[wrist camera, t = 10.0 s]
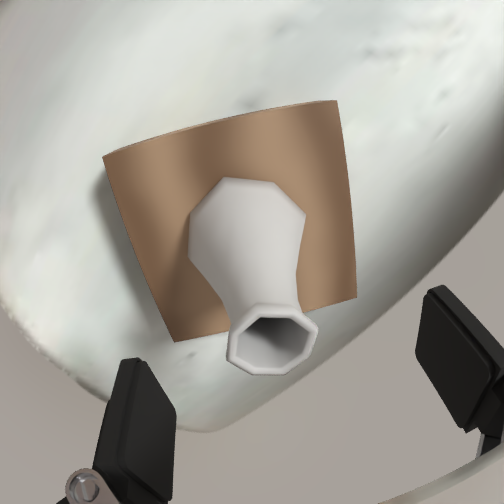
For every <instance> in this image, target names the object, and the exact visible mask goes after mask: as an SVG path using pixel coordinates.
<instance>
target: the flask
mask: <svg viewBox="0 0 504 504" xmlns="http://www.w3.org/2000/svg"><path fill="white" fill-rule="evenodd" d="M305 218H306V214H305V213H304V212H303V211H302V210H301V209H300V208H299V207H298V206H297V205H296V204H295V203H294V202H293V201H292V200H291V199H290V198H289V197H288V196H287V195H286V194H285V193H284V192H283V191H282V190H281V189H280V188H279V187H278V186H277V185H276V184H275V183H274V182H268V181H259V180H250V179H240V178H230V177H223V178H222V179H221V180H220V181H219V182H218V184H217V185H216V186H215V187H214V188H213V189H212V190H211V191H210V192H209V193H208V194H207V195H206V196H205V197H204V198H203V199H202V201H201V202H200V203H199V204H198V205H197V206H196V207H195V208H194V209H193V210H192V211H191V212H190V224H189V240H188V258H189V259H190V261H191V262H192V263H193V264H194V265H195V267H196V268H197V269H198V270H199V271H200V272H201V274H202V275H203V276H204V277H205V278H206V280H207V281H208V282H209V284H210V285H211V286H212V288H213V289H214V290H215V292H216V293H217V294H218V296H219V297H220V298H221V300H222V302H223V304H224V307H225V309H226V312H227V314H228V317H229V319H230V322H231V325H230V328H229V335H228V343H227V352H226V360H227V361H228V362H230V363H231V364H233V365H235V366H237V367H238V368H240V369H242V370H244V371H245V372H247V373H249V374H251V375H286V374H287V373H288V372H290V371H291V370H292V369H294V368H295V367H296V366H298V365H299V364H301V363H302V362H303V361H305V360H306V359H307V358H308V357H310V355H311V352H312V349H313V346H314V343H315V340H316V337H317V334H318V331H319V329H318V326H317V325H316V324H315V323H314V322H313V321H312V320H310V319H309V318H308V317H307V316H305V315H304V314H303V313H302V310H301V307H300V305H299V302H298V296H297V285H296V269H297V262H298V256H299V249H300V243H301V239H302V234H303V229H304V224H305Z"/></svg>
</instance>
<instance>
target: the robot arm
mask: <svg viewBox="0 0 504 504" xmlns="http://www.w3.org/2000/svg"><path fill="white" fill-rule="evenodd" d="M415 354H416V358H417V360H418V362H419V363H420V365H421V366H422V368H423V369H424V371H425V373H426V374H427V376H428V377H429V379H430V381H431V382H432V384H433V386H434V387H435V389H436V390H437V392H438V394H439V395H440V397H441V399H442V400H443V402H444V404H445V405H446V407H447V409H448V410H449V412H450V414H451V415H452V417H453V419H454V421H455V422H456V424H457V426H458V427H459V428H463V429H464V431H465V433H468V432H470V431H471V430H473V429H475V428H477V427H478V428H479V430H480V432H481V436H480V441H479V445H478V450H477V454H476V458H475V460H473V461H471V462H470V463H468V464H466V465H464V466H462V467H460V468H458V469H456V470H455V471H453V472H451V473H449V474H447V475H445V476H443V477H441V478H439V479H437V480H435V481H432V482H430V483H428V484H426V485H424V486H421V487H419V488H417V489H415V490H412V491H410V492H407V493H405V494H403V495H400V496H397V497H395V498H392V499H390V500H387V501H384V502H381V503H378V504H504V348H503V347H502V346H501V345H500V344H499V343H498V342H497V340H496V339H495V338H494V337H493V336H492V335H491V334H490V332H489V331H488V330H487V329H486V328H485V327H484V326H483V325H482V324H481V323H480V321H479V320H478V319H477V318H476V317H475V316H474V315H473V314H472V313H471V312H470V311H469V310H468V309H467V307H465V305H463V303H462V302H461V301H460V300H459V299H458V298H457V297H456V296H455V295H454V294H453V293H452V292H451V291H450V290H449V289H448V288H447V287H446V286H445V285H440V286H438V287H434V288H432V289H429V290H428V291H427V295H425V296H424V298H423V306H422V313H421V320H420V326H419V332H418V338H417V344H416V349H415ZM175 432H176V411H175V408H174V406H173V405H172V403H171V402H170V400H169V399H168V397H167V395H166V394H165V392H164V391H163V389H162V387H161V386H160V384H159V382H158V381H157V379H156V377H155V376H154V374H153V372H152V371H151V369H150V367H149V366H148V364H147V362H146V361H142V360H141V359H140V358H130V359H123V360H122V361H121V363H120V366H119V369H118V373H117V376H116V380H115V384H114V387H113V391H112V395H111V399H110V400H109V401H108V403H107V406H106V410H105V414H104V418H103V422H102V426H101V430H100V435H99V439H98V443H97V448H96V452H95V457H94V461H93V466H92V469H88V468H84V469H80V470H78V471H75V472H74V473H73V474H72V475H71V476H70V477H69V479H68V480H67V483H66V486H65V493H66V497H65V498H63V499H62V500H60V501H59V502H58V503H56V504H168V501H170V500H171V499H172V492H173V467H174V448H175Z"/></svg>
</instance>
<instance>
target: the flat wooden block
mask: <svg viewBox="0 0 504 504" xmlns="http://www.w3.org/2000/svg"><path fill="white" fill-rule="evenodd" d="M102 158H103V161H104V165H105V168H106V171H107V174H108V177H109V181H110V184H111V187H112V190H113V193H114V196H115V199H116V202H117V205H118V207H119V210H120V213H121V216H122V219H123V222H124V224H125V227H126V230H127V233H128V235H129V238H130V240H131V243H132V246H133V248H134V251H135V253H136V256H137V259H138V261H139V264H140V266H141V269H142V271H143V273H144V276H145V278H146V281H147V283H148V285H149V288H150V290H151V292H152V295H153V297H154V299H155V302H156V304H157V306H158V309H159V311H160V313H161V315H162V317H163V320H164V322H165V324H166V326H167V328H168V330H169V333H170V335H171V337H172V339H173V341H174V342H179V341H184V340H189V339H194V338H198V337H203V336H208V335H213V334H217V333H222V332H226V331H229V328H230V325H231V322H230V319H229V317H228V314H227V312H226V309H225V307H224V304H223V302H222V300H221V298H220V297H219V296H218V294H217V293H216V292H215V290H214V289H213V288H212V286H211V285H210V284H209V282H208V281H207V280H206V278H205V277H204V276H203V275H202V274H201V272H200V271H199V270H198V269H197V268H196V267H195V265H194V264H193V263H192V262H191V261H190V259H189V258H188V240H189V224H190V212H191V211H192V210H193V209H194V208H195V207H196V206H197V205H198V204H199V203H200V202H201V201H202V199H203V198H204V197H205V196H206V195H207V194H208V193H209V192H210V191H211V190H212V189H213V188H214V187H215V186H216V185H217V184H218V182H219V181H220V180H221V179H222V178H223V177H230V178H240V179H250V180H259V181H268V182H274V183H275V184H276V185H277V186H278V187H279V188H280V189H281V190H282V191H283V192H284V193H285V194H286V195H287V196H288V197H289V198H290V199H291V200H292V201H293V202H294V203H295V204H296V205H297V206H298V207H299V208H300V209H301V210H302V211H303V212H304V213H305V214H306V218H305V224H304V229H303V234H302V239H301V243H300V249H299V256H298V262H297V269H296V285H297V296H298V302H299V305H300V307H301V310H302V313H304V312H307V311H311V310H315V309H318V308H322V307H326V306H329V305H333V304H336V303H340V302H343V301H347V300H350V299H353V298H357V282H356V261H355V245H354V231H353V219H352V208H351V198H350V188H349V179H348V171H347V163H346V156H345V148H344V141H343V134H342V128H341V122H340V116H339V110H338V104H337V100H330V101H313V102H307V103H300V104H294V105H288V106H282V107H276V108H271V109H266V110H260V111H255V112H250V113H246V114H241V115H236V116H232V117H228V118H223V119H219V120H215V121H211V122H207V123H203V124H199V125H195V126H191V127H188V128H184V129H180V130H177V131H173V132H170V133H166V134H163V135H160V136H156V137H153V138H150V139H147V140H144V141H141V142H137V143H134V144H131V145H128V146H125V147H123V148H120V149H117V150H115V151H113V152H111V153H109V154H107V155H105V156H103V157H102Z"/></svg>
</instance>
